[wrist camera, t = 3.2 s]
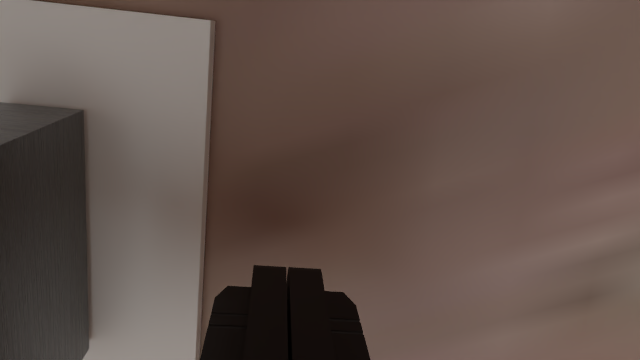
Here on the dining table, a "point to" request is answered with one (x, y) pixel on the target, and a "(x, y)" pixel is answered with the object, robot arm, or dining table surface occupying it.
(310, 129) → the dining table surface
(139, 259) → the gauge base
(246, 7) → the dining table surface
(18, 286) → the tall dark grey box
